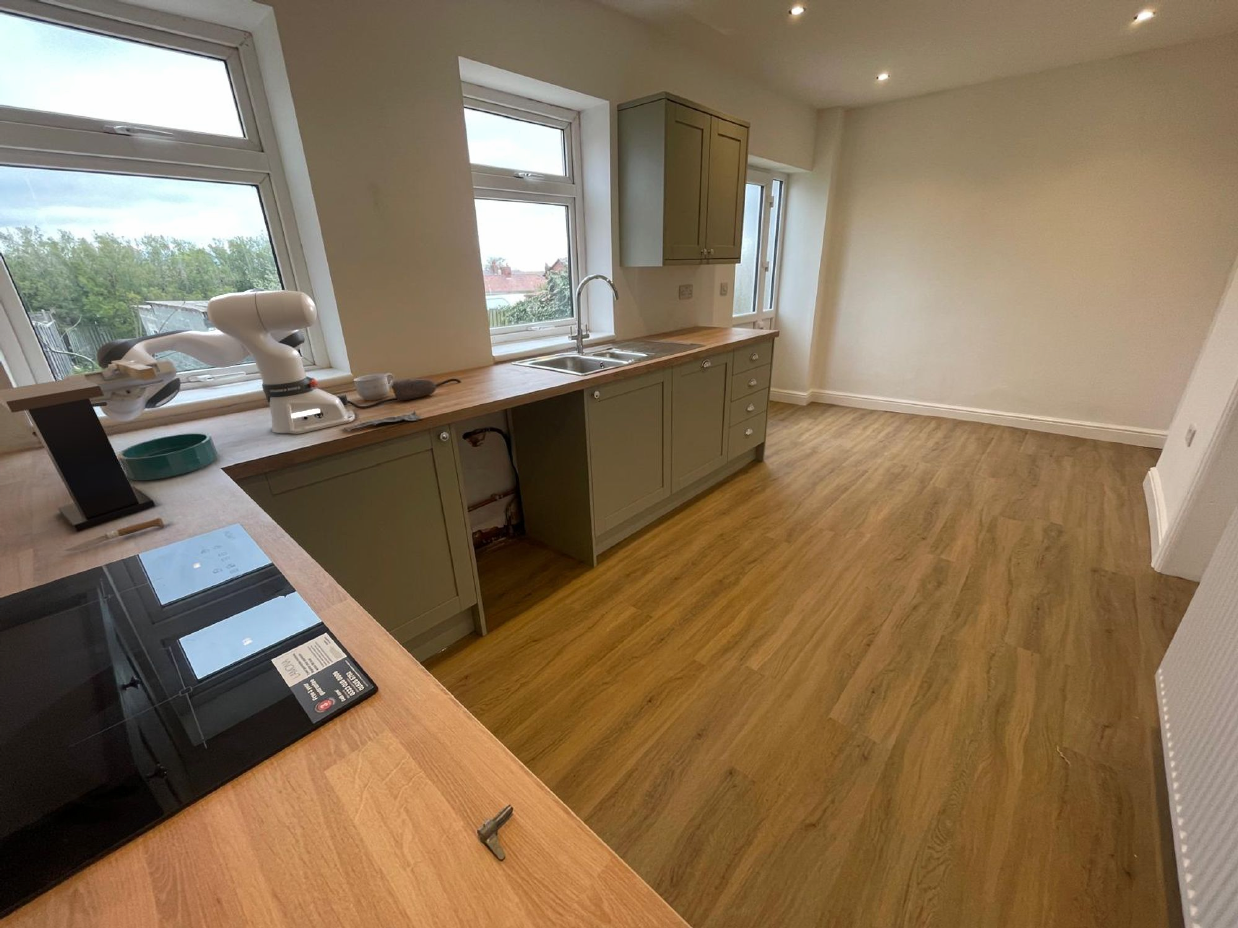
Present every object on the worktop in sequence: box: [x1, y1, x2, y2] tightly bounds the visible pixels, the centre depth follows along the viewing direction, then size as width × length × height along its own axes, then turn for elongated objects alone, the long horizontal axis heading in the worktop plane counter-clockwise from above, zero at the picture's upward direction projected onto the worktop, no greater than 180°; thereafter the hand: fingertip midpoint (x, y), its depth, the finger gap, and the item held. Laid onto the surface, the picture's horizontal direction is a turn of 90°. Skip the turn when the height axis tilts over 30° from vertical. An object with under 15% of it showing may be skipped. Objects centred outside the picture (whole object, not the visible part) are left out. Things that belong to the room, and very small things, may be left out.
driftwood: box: [343, 410, 420, 432], centre depth 151 cm, size 21×7×2 cm, turn 121°
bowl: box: [117, 432, 219, 481], centre depth 124 cm, size 18×18×6 cm
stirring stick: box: [111, 360, 157, 380], centre depth 116 cm, size 22×2×2 cm, turn 55°
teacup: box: [353, 372, 396, 401], centre depth 179 cm, size 14×11×8 cm
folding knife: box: [63, 517, 165, 552], centre depth 92 cm, size 14×2×2 cm, turn 135°
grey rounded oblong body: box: [391, 378, 437, 401], centre depth 176 cm, size 15×5×7 cm, turn 126°
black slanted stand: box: [0, 377, 156, 533], centre depth 100 cm, size 16×12×26 cm
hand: (124, 365), depth 119 cm, fingers closed on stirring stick, 2 cm apart
